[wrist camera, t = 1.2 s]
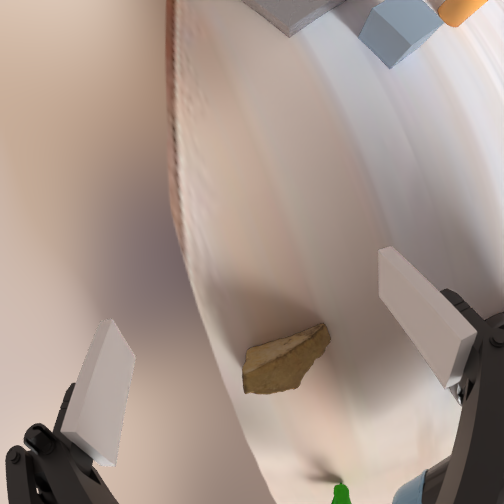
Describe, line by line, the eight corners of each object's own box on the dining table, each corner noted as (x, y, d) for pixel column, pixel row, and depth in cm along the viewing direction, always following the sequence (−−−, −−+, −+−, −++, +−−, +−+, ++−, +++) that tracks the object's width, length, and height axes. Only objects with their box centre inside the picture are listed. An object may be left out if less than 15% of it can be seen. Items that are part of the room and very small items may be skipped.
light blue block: (390, 16, 25) (408, -13, 19) (420, 46, 26) (444, 22, 19) (357, 37, 27) (372, 8, 20) (389, 69, 27) (411, 45, 20)
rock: (340, 306, 31) (241, 308, 31) (353, 385, 25) (242, 392, 25) (318, 348, 39) (242, 350, 39) (325, 410, 33) (242, 414, 33)
